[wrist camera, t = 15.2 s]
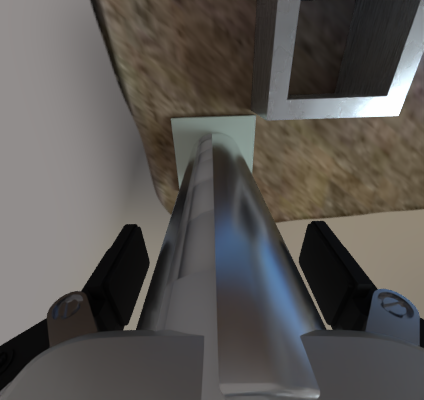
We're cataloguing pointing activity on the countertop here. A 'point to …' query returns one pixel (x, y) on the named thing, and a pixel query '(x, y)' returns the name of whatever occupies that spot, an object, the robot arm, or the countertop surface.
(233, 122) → the mat
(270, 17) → the housing
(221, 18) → the countertop surface
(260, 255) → the silver tall cylinder
